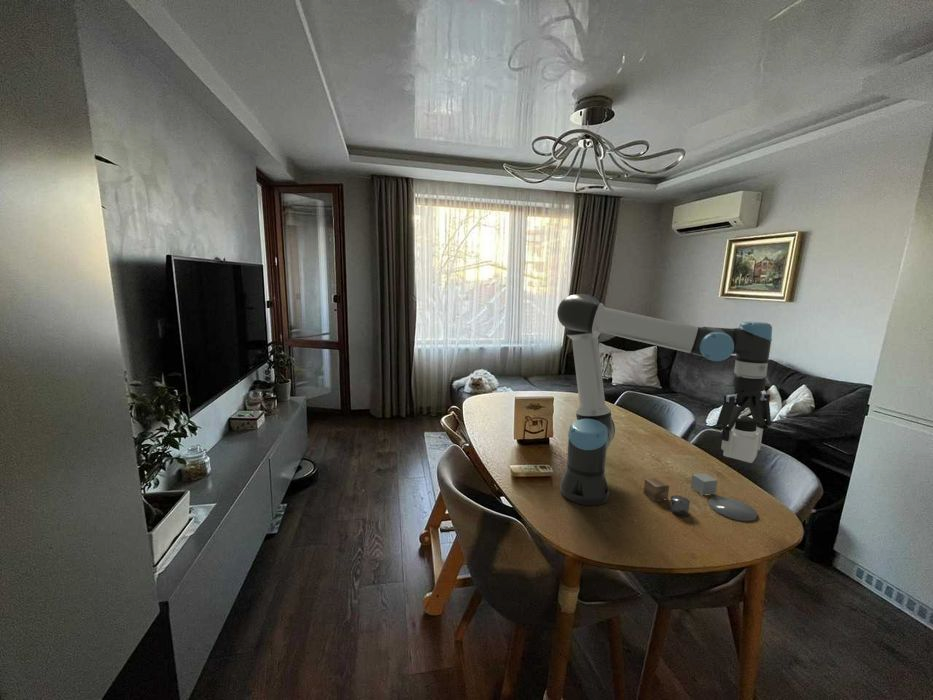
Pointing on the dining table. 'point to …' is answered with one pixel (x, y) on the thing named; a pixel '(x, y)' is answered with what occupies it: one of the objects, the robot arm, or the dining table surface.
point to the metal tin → (679, 505)
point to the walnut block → (656, 489)
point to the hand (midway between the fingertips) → (740, 449)
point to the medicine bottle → (744, 440)
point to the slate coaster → (732, 508)
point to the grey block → (703, 483)
